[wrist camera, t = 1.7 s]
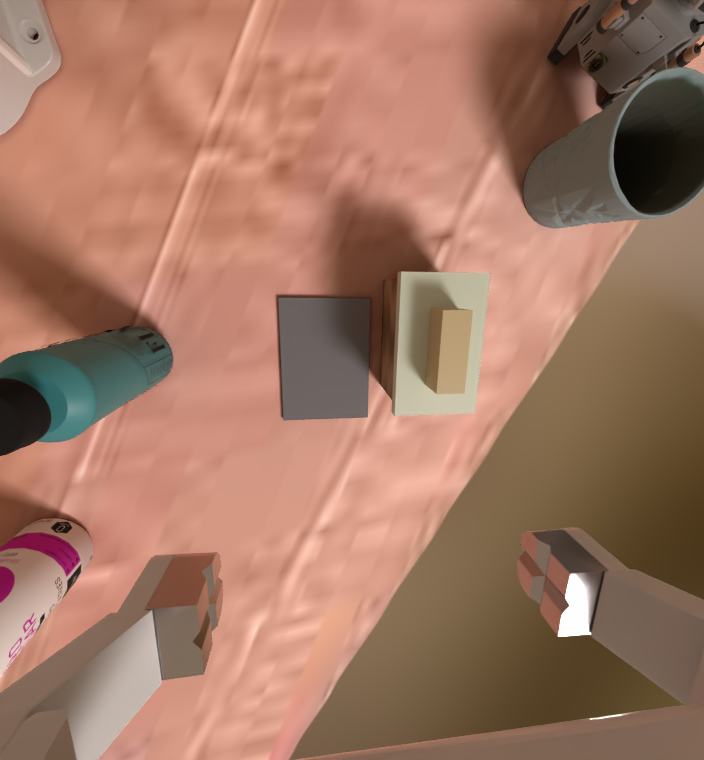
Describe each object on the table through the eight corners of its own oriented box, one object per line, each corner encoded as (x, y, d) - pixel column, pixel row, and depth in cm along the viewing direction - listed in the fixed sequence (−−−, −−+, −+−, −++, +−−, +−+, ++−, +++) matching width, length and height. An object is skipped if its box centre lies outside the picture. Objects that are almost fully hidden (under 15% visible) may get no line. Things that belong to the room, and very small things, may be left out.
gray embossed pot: (536, 121, 36) (644, 44, 25) (617, 152, 38) (752, 93, 26) (504, 223, 38) (589, 196, 27) (581, 247, 40) (691, 231, 29)
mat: (278, 297, 37) (278, 297, 37) (369, 298, 39) (370, 298, 38) (283, 418, 41) (283, 420, 41) (366, 416, 42) (367, 417, 42)
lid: (397, 272, 30) (411, 269, 26) (483, 273, 31) (509, 271, 27) (391, 411, 34) (403, 428, 30) (469, 408, 35) (490, 424, 31)
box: (383, 279, 38) (403, 278, 31) (444, 280, 39) (478, 279, 31) (380, 384, 41) (396, 406, 34) (436, 383, 42) (465, 404, 35)
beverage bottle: (190, 341, 37) (68, 398, 18) (165, 393, 38) (25, 499, 19) (129, 311, 36) (-75, 339, 17) (105, 366, 37) (-112, 452, 18)
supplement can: (14, 515, 40) (-150, 644, 26) (92, 513, 41) (-23, 635, 27) (27, 573, 42) (-118, 722, 28) (101, 569, 43) (-1, 711, 29)
